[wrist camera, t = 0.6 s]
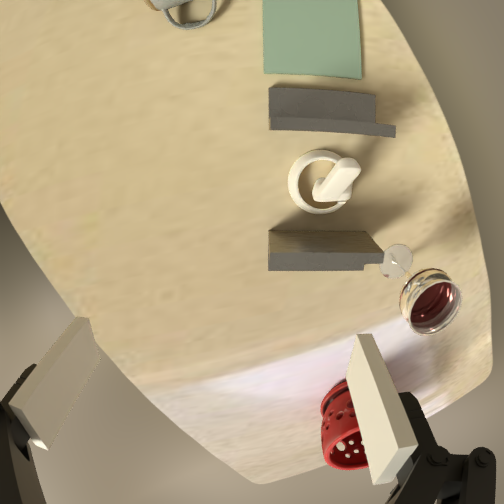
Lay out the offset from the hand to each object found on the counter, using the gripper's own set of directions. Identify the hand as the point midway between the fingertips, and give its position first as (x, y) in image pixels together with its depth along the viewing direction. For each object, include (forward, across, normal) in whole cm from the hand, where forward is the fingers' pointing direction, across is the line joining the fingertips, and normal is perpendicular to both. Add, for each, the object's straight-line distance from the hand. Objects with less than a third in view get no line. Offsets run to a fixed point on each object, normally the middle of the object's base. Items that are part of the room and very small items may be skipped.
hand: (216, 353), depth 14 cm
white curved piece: (+25, +9, +4) cm, 27 cm away
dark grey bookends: (+25, +9, +4) cm, 26 cm away
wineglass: (+25, +20, -5) cm, 32 cm away
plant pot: (+25, +19, -30) cm, 44 cm away
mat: (+24, +7, +22) cm, 34 cm away
